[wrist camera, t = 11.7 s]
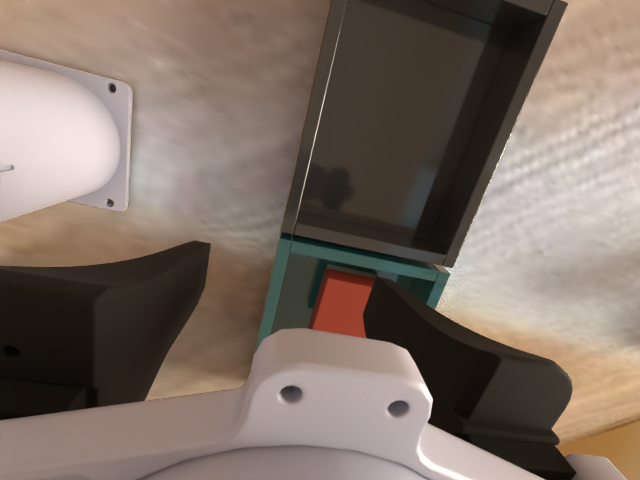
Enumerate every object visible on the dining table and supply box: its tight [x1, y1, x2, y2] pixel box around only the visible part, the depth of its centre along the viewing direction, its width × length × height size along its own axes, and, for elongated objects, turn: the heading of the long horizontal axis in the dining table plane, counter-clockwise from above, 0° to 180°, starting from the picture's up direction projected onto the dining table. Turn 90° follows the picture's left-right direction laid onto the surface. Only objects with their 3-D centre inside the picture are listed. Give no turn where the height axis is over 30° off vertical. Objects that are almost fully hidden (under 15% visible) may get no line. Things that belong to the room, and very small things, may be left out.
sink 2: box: [281, 0, 568, 268], centre depth 18 cm, size 12×15×3 cm
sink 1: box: [248, 223, 450, 377], centre depth 24 cm, size 12×15×3 cm
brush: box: [308, 264, 379, 338], centre depth 23 cm, size 5×11×3 cm, turn 165°
